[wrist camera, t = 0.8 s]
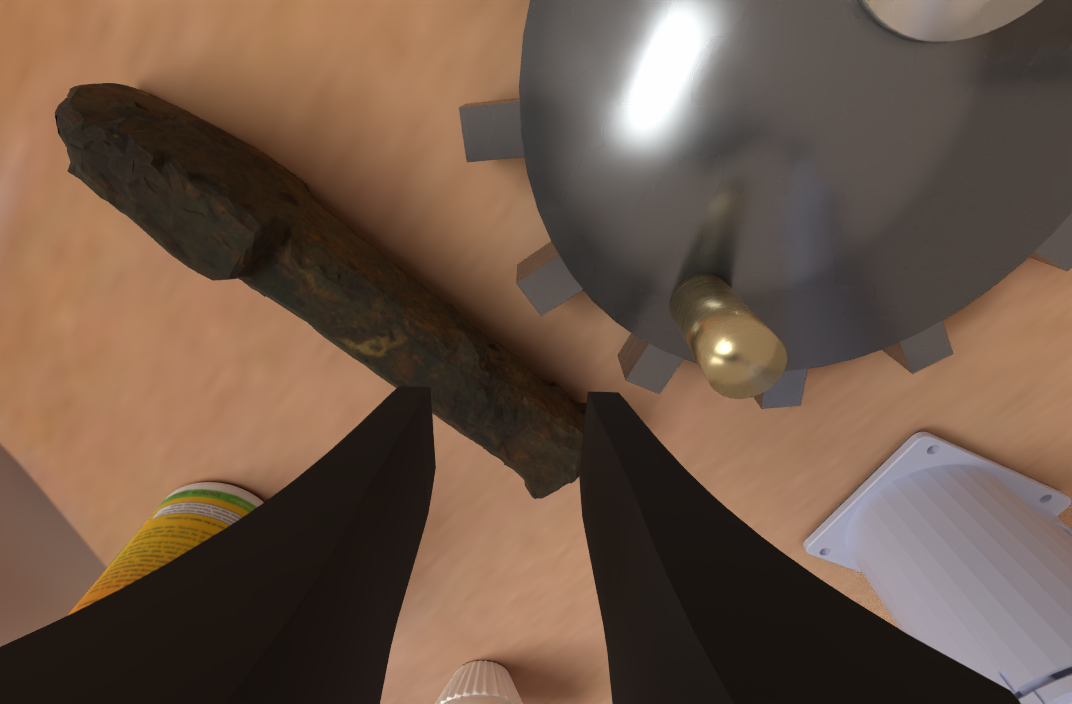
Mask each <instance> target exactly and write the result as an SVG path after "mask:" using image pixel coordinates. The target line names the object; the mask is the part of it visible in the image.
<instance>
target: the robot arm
mask: <svg viewBox="0 0 1072 704" xmlns="http://www.w3.org/2000/svg"><path fill="white" fill-rule="evenodd" d="M435 469H436V466H435V450H434V435H433V420H432V404H431V389H430V387H410V386H399V387H398V388H397V389H395V390H394V391H393V392H392V393H391V394H390V395H389V396H388V397H387V398H386V399H385V400H384V401H383V402H382V403H381V404H380V405H379V406H377V407H376V408H375V409H374V410H373V411H372V412H371V413H370V414H369V415H368V416H367V417H366V418H365V419H364V420H363V421H362V422H361V423H360V424H359V425H358V426H357V427H356V428H354V429H353V430H352V431H351V432H350V433H349V434H348V435H347V436H346V437H345V438H343V439H342V440H341V441H340V442H339V443H338V444H337V445H336V446H335V447H334V448H332V449H331V450H330V451H329V452H328V453H327V454H326V455H324V456H323V457H322V458H321V459H320V460H318V461H317V462H316V463H315V464H314V465H312V466H311V467H310V468H309V469H307V470H306V471H305V472H304V473H303V474H301V475H300V476H299V477H298V478H297V479H295V480H294V481H293V482H291V483H290V484H289V485H287V486H286V487H285V488H283V489H282V490H281V491H279V492H278V493H277V494H275V495H274V496H273V497H271V498H270V499H268V500H267V501H265V502H264V503H263V504H261V505H260V506H258V507H257V508H255V509H254V510H252V511H251V512H249V513H248V514H247V515H245V516H244V517H242V518H241V519H239V520H238V521H236V522H235V523H233V524H232V525H230V526H228V527H227V528H225V529H223V530H222V531H220V532H219V533H217V534H215V535H214V536H212V537H210V538H209V539H207V540H205V541H204V542H202V543H200V544H199V545H197V546H195V547H194V548H192V549H190V550H189V551H187V552H185V553H184V554H182V555H180V556H179V557H177V558H175V559H174V560H172V561H170V562H169V563H167V564H165V565H163V566H162V567H160V568H158V569H156V570H154V571H153V572H151V573H149V574H147V575H145V576H143V577H142V578H140V579H138V580H136V581H134V582H132V583H130V584H129V585H127V586H125V587H123V588H121V589H119V590H117V591H115V592H113V593H111V594H109V595H108V596H106V597H104V598H102V599H100V600H98V601H96V602H94V603H92V604H90V605H88V606H86V607H84V608H82V609H80V610H78V611H76V612H74V613H72V614H70V615H68V616H66V617H64V618H62V619H60V620H58V621H56V622H54V623H52V624H49V625H47V626H45V627H43V628H41V629H39V630H36V631H34V632H32V633H30V634H28V635H25V636H24V637H21V638H19V639H17V640H14V641H12V642H10V643H8V644H6V645H4V646H1V647H0V704H380V700H381V695H382V690H383V684H384V679H385V674H386V669H387V664H388V658H389V653H390V648H391V644H392V640H393V636H394V632H395V628H396V624H397V620H398V617H399V613H400V610H401V606H402V603H403V600H404V596H405V593H406V589H407V586H408V582H409V579H410V576H411V572H412V569H413V565H414V562H415V558H416V555H417V552H418V548H419V545H420V541H421V538H422V534H423V531H424V527H425V523H426V520H427V516H428V512H429V506H430V500H431V494H432V488H433V482H434V475H435ZM579 477H580V492H581V505H582V517H583V522H584V528H585V533H586V538H587V544H588V549H589V554H590V559H591V564H592V569H593V574H594V580H595V585H596V590H597V595H598V600H599V605H600V610H601V615H602V620H603V626H604V632H605V639H606V645H607V652H608V662H609V672H610V682H611V692H612V702H613V704H1072V529H1071V528H1070V527H1069V526H1068V525H1066V524H1065V523H1064V522H1063V521H1062V520H1061V519H1059V518H1058V517H1057V516H1058V515H1059V514H1060V513H1062V512H1063V511H1064V510H1066V509H1067V508H1068V507H1069V506H1070V504H1071V499H1070V498H1069V497H1068V496H1067V495H1066V494H1064V493H1063V492H1061V491H1058V490H1056V489H1054V488H1052V487H1049V486H1047V485H1045V484H1043V483H1040V482H1038V481H1036V480H1034V479H1031V478H1029V477H1027V476H1025V475H1023V474H1020V473H1018V472H1016V471H1014V470H1011V469H1009V468H1007V467H1005V466H1002V465H1000V464H998V463H996V462H993V461H991V460H989V459H987V458H984V457H982V456H980V455H978V454H975V453H973V452H971V451H969V450H966V449H964V448H962V447H960V446H957V445H955V444H953V443H951V442H948V441H946V440H944V439H942V438H939V437H937V436H935V435H933V434H931V433H928V432H918V433H915V434H914V435H912V436H911V437H910V438H909V439H908V440H907V441H906V442H905V443H904V444H903V445H902V446H901V447H900V448H899V449H898V450H897V451H896V452H895V453H894V454H893V455H892V456H890V457H889V458H888V459H887V460H886V461H885V462H884V463H883V464H882V465H881V466H880V467H879V468H878V469H877V470H876V471H875V472H874V473H873V474H872V475H871V476H870V477H869V478H868V479H867V480H866V481H865V482H864V483H863V484H862V485H861V486H860V487H859V488H858V489H857V490H856V491H855V492H854V493H853V494H852V495H851V496H850V497H849V498H848V499H847V500H846V501H845V502H844V503H843V504H842V505H841V506H840V507H839V508H838V509H837V510H836V511H835V512H834V513H833V514H832V515H830V516H829V517H828V518H827V519H826V520H825V521H824V522H823V523H822V524H821V525H820V526H819V527H818V528H817V529H816V530H815V531H814V532H813V533H812V534H811V535H810V536H809V537H808V538H807V539H806V540H805V542H804V544H803V546H804V548H805V550H806V552H807V553H808V554H810V555H812V556H815V557H818V558H821V559H824V560H827V561H829V562H832V563H835V564H838V565H841V566H844V567H847V568H849V569H852V570H855V571H858V572H861V573H863V575H864V576H865V578H866V579H867V581H868V582H869V584H870V585H871V587H872V588H873V590H874V591H875V593H876V594H877V596H878V597H879V599H880V600H881V602H882V603H883V605H884V606H885V608H886V609H887V611H888V612H889V614H890V615H891V617H892V618H893V620H894V621H895V623H896V624H897V626H898V627H899V629H898V628H897V627H895V626H893V625H892V624H890V623H889V622H887V621H885V620H884V619H882V618H880V617H879V616H877V615H876V614H874V613H872V612H871V611H869V610H867V609H866V608H864V607H863V606H861V605H859V604H858V603H856V602H854V601H853V600H851V599H850V598H848V597H847V596H845V595H844V594H842V593H840V592H839V591H837V590H836V589H834V588H833V587H831V586H830V585H828V584H827V583H825V582H824V581H822V580H821V579H819V578H818V577H816V576H815V575H814V574H812V573H811V572H809V571H808V570H806V569H805V568H804V567H802V566H801V565H799V564H798V563H797V562H795V561H794V560H792V559H791V558H790V557H788V556H787V555H785V554H784V553H783V552H781V551H780V550H778V549H777V548H776V547H774V546H773V545H772V544H771V543H769V542H768V541H767V540H765V539H764V538H763V537H761V536H760V535H759V534H758V533H756V532H755V531H754V530H753V529H751V528H750V527H749V526H748V525H747V524H745V523H744V522H743V521H742V520H741V519H739V518H738V517H737V516H736V515H735V514H733V513H732V512H731V511H730V510H728V509H727V508H726V507H725V506H724V505H723V504H722V503H721V502H719V501H718V500H717V499H716V498H715V497H714V496H713V495H712V494H711V493H709V492H708V491H707V490H706V489H705V488H704V487H703V486H702V485H701V484H700V483H699V482H698V481H697V480H696V479H695V478H694V477H693V476H692V475H691V474H690V473H689V472H688V471H687V470H686V469H685V468H684V467H683V466H682V465H681V464H680V463H679V462H678V461H677V460H676V459H675V457H674V456H673V455H672V454H671V453H670V452H669V451H668V450H667V449H666V448H665V447H664V445H663V444H662V443H661V442H660V441H659V440H658V439H657V438H656V436H655V435H654V434H653V433H652V432H651V431H650V429H649V428H648V427H647V426H646V425H645V423H644V422H643V421H642V420H641V419H640V417H639V416H638V415H637V414H636V413H635V411H634V410H633V409H632V408H631V407H630V405H629V404H628V403H627V402H626V400H625V399H624V398H623V397H622V396H621V395H620V394H619V393H617V392H588V395H587V404H586V413H585V422H584V431H583V440H582V450H581V459H580V468H579Z"/></svg>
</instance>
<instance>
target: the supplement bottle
mask: <svg viewBox="0 0 1072 704" xmlns="http://www.w3.org/2000/svg"><path fill="white" fill-rule="evenodd" d="M263 503H264V502H263V501H262V500H260V499H259V498H258V497H256V496H255V495H253V494H251V493H250V492H248V491H246V490H243V489H241V488H239V487H236V486H233V485H229V484H224V483H216V482H201V483H193V484H189V485H186V486H184V487H181V488H179V489H177V490H175V491H174V492H173V493H171V494H170V495H169V496H168V497H167V498H166V499H165V500H164V501H163V502H162V504H161V505H160V506H159V507H158V508H157V509H156V510H155V512H154V513H153V514H152V515H151V517H150V518H149V519H148V520H147V521H146V522H145V524H144V525H143V526H142V527H141V529H140V530H139V531H138V532H137V533H136V535H135V536H134V537H133V538H132V539H131V541H130V542H129V543H128V544H127V545H126V546H125V548H124V549H123V550H122V551H121V552H120V554H119V555H118V556H117V557H116V558H115V559H114V561H113V562H112V563H111V564H110V565H109V567H108V568H107V569H106V571H105V572H104V573H103V574H102V575H101V576H100V578H99V579H98V580H97V581H96V582H95V584H94V585H93V586H92V587H91V588H90V589H89V591H88V592H87V593H86V594H85V595H84V596H83V598H82V599H81V600H80V601H79V602H78V603H77V605H76V606H75V607H74V608H73V609H72V611H71V612H70V613H69V614H68V615H70V614H72V613H74V612H76V611H78V610H80V609H82V608H84V607H86V606H88V605H90V604H92V603H94V602H96V601H98V600H100V599H102V598H104V597H106V596H108V595H109V594H111V593H113V592H115V591H117V590H119V589H121V588H123V587H125V586H127V585H129V584H130V583H132V582H134V581H136V580H138V579H140V578H142V577H143V576H145V575H147V574H149V573H151V572H153V571H154V570H156V569H158V568H160V567H162V566H163V565H165V564H167V563H169V562H170V561H172V560H174V559H175V558H177V557H179V556H180V555H182V554H184V553H185V552H187V551H189V550H190V549H192V548H194V547H195V546H197V545H199V544H200V543H202V542H204V541H205V540H207V539H209V538H210V537H212V536H214V535H215V534H217V533H219V532H220V531H222V530H223V529H225V528H227V527H228V526H230V525H232V524H233V523H235V522H236V521H238V520H239V519H241V518H242V517H244V516H245V515H247V514H248V513H249V512H251V511H252V510H254V509H255V508H257V507H258V506H260V505H261V504H263ZM68 615H67V616H68Z"/></svg>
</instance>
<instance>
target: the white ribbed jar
mask: <svg viewBox="0 0 1072 704" xmlns="http://www.w3.org/2000/svg"><path fill="white" fill-rule="evenodd" d="M435 704H523V702H522V700H521V698H520V696H519V694H518V692H517V690H516V688H515V685H514V683H513V681H512V679H511V677H510V675H509V673H508V671H507V670H506V669H505V667H502V665H499V664H498V663H494V662H492V661H491V662H489V661H487V660H485V661H482V660H480V661H474V662H469V663H465V665H462V666H461V667H459V668H458V669H457V671H456V672H455V674H454V675H453V677H452V678H451V680H450V681H449V683H448V684H447V686H446V687H445V689H444V690H443V692H442V693H441V695H440V696H439V698H438V699H437V701H436V703H435Z"/></svg>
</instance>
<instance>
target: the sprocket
mask: <svg viewBox="0 0 1072 704" xmlns="http://www.w3.org/2000/svg"><path fill="white" fill-rule="evenodd" d="M519 91H520V99H509V100H499V101H489V102H479V103H469V104H465V105H463V106H461V107H459V111H460V118H461V125H462V132H463V139H464V146H465V153H466V160H467V162H475V161H486V160H497V159H507V158H518V157H525V161H526V167H527V173H528V177H529V180H530V184H531V187H532V191H533V194H534V198H535V201H536V205H537V208H538V211H539V213H540V216H541V218H542V220H543V223H544V225H545V227H546V230H547V232H548V234H549V237H550V239H551V242H550V243H548V244H547V245H545V246H544V247H542V248H541V249H539V250H538V251H536V252H535V253H534V254H532V255H531V256H529V257H528V258H526V259H525V260H523V261H522V262H520V263H519V264H517V279H516V284H517V285H518V286H519V288H520V289H521V290H522V292H523V293H524V294H525V296H526V297H527V298H528V299H529V301H530V302H531V303H532V305H533V306H534V307H535V309H536V310H537V311H538V313H539V314H540V315H541V316H543V315H544V314H546V313H547V312H549V311H551V310H552V309H554V308H555V307H557V306H558V305H560V304H562V303H563V302H565V301H566V300H568V299H569V298H571V297H572V296H574V295H576V294H577V293H579V292H580V291H582V290H584V291H585V292H586V293H587V295H588V296H589V297H590V298H591V299H592V300H593V301H594V302H595V303H596V304H597V305H598V306H599V307H600V308H601V309H602V310H603V311H604V312H606V313H607V314H608V315H609V316H610V317H611V318H612V319H613V320H614V321H615V322H617V323H618V324H620V325H621V326H622V327H624V328H625V329H627V330H628V331H630V332H631V334H630V336H629V338H628V339H627V341H626V343H625V344H624V346H623V347H622V349H621V351H620V352H619V354H618V358H619V362H620V365H621V368H622V371H623V374H624V377H625V380H626V381H628V382H631V383H633V384H636V385H638V386H641V387H643V388H646V389H648V390H651V391H653V392H655V393H658V394H660V393H661V391H662V390H663V388H664V387H665V385H666V384H667V382H668V381H669V380H670V378H671V377H672V375H673V374H674V372H675V371H676V369H677V368H678V367H679V365H680V364H681V362H682V361H683V359H687V360H689V361H692V362H695V363H698V364H699V365H700V367H701V369H702V371H703V372H704V374H705V376H706V377H707V379H708V381H709V383H710V384H711V386H712V387H713V389H714V390H716V391H717V392H718V393H719V394H721V395H723V396H726V397H729V398H735V399H744V398H750V397H754V398H755V400H756V401H757V403H758V404H759V406H760V407H761V409H764V408H777V407H790V406H800V405H801V400H802V395H803V390H804V385H805V380H806V374H807V369H808V368H815V367H822V366H826V365H830V364H835V363H839V362H843V361H847V360H851V359H855V358H858V357H861V356H864V355H867V354H870V353H872V352H875V351H878V350H881V349H882V350H883V351H884V352H885V353H887V354H888V355H889V356H890V357H892V358H893V359H894V360H896V361H897V362H898V363H899V364H901V365H902V366H903V367H904V368H906V369H907V370H908V371H909V372H911V373H912V374H913V373H915V372H917V371H919V370H921V369H923V368H925V367H927V366H929V365H931V364H933V363H935V362H937V361H939V360H941V359H943V358H946V357H948V356H950V355H952V354H953V351H952V348H951V345H950V342H949V339H948V336H947V333H946V331H945V328H944V325H943V322H942V320H944V319H945V318H947V317H949V316H951V315H952V314H954V313H956V312H957V311H959V310H960V309H962V308H963V307H965V306H966V305H968V304H969V303H971V302H972V301H974V300H975V299H976V298H978V297H979V296H981V295H982V294H984V293H985V292H987V291H988V290H990V289H991V288H992V287H993V286H995V285H996V284H997V283H998V282H999V281H1001V280H1002V279H1003V278H1004V277H1006V276H1007V275H1008V274H1009V273H1010V272H1012V271H1013V270H1014V269H1015V268H1017V267H1018V266H1019V265H1020V264H1021V263H1023V262H1024V261H1025V260H1026V259H1027V258H1028V257H1030V258H1033V259H1036V260H1038V261H1041V262H1044V263H1046V264H1049V265H1052V266H1054V267H1057V268H1060V269H1063V270H1065V271H1069V270H1070V269H1071V268H1072V0H530V4H529V9H528V14H527V19H526V25H525V30H524V35H523V46H522V58H521V70H520V82H519Z"/></svg>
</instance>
